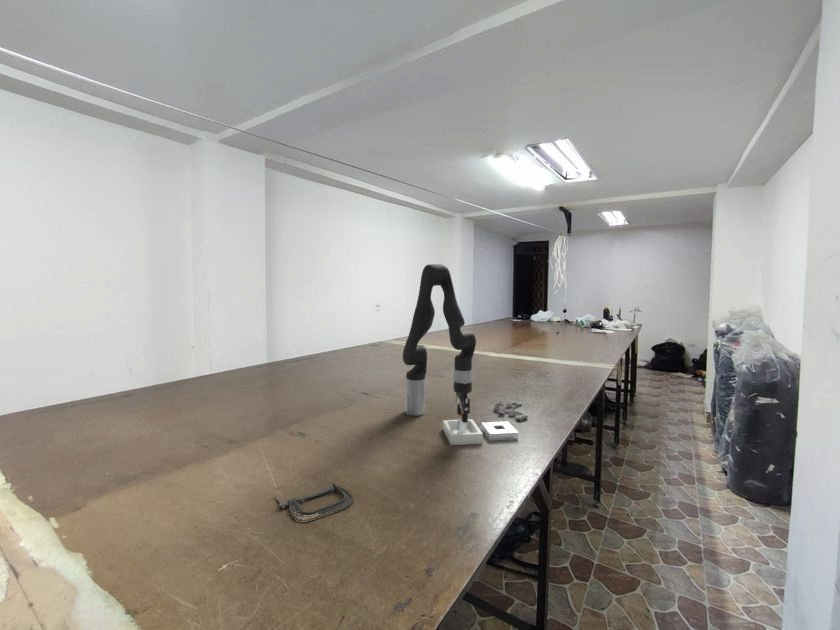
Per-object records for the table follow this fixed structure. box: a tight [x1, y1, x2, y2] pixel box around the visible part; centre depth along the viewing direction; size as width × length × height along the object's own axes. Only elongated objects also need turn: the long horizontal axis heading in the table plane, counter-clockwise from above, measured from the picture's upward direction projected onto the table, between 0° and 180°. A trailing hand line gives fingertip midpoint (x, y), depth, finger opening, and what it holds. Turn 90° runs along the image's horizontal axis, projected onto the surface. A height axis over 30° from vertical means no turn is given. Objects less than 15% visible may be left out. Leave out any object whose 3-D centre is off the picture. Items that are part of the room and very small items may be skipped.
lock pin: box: [457, 413, 467, 433], centre depth 157 cm, size 4×4×8 cm
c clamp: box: [278, 483, 354, 521], centre depth 110 cm, size 20×17×3 cm
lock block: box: [480, 421, 519, 442], centre depth 159 cm, size 12×12×3 cm
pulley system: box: [493, 400, 529, 421], centre depth 188 cm, size 27×5×15 cm
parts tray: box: [442, 418, 484, 446], centre depth 157 cm, size 13×16×4 cm
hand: (462, 418), depth 156 cm, fingers open, 8 cm apart
